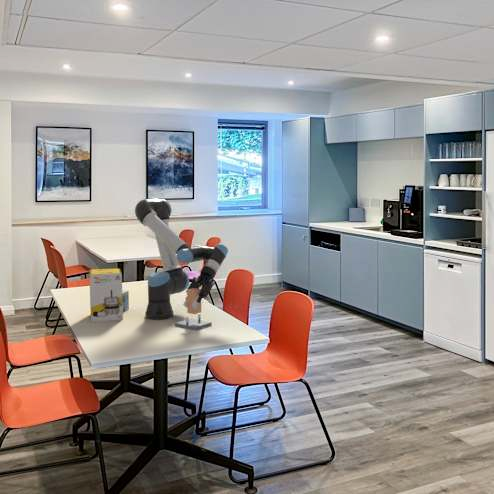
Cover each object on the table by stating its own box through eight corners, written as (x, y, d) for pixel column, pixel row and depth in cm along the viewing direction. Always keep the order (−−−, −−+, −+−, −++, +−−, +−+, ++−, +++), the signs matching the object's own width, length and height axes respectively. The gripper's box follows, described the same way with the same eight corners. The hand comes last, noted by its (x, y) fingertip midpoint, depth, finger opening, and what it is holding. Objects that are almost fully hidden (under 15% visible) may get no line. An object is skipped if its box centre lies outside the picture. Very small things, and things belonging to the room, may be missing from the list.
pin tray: (175, 325, 307) (175, 316, 306) (191, 321, 316) (190, 311, 316) (196, 330, 299) (196, 320, 298) (211, 325, 308) (211, 315, 308)
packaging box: (91, 321, 316) (89, 274, 313) (90, 314, 331) (89, 269, 328) (122, 319, 320) (121, 273, 317) (120, 312, 336) (119, 268, 333)
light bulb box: (121, 313, 335) (121, 293, 334) (110, 312, 337) (110, 293, 336) (129, 308, 346) (128, 290, 345) (118, 308, 347) (117, 289, 346)
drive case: (187, 312, 306) (187, 289, 304) (193, 311, 310) (193, 288, 308) (194, 314, 303) (194, 290, 302) (201, 312, 307) (201, 289, 306)
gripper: (226, 275, 311) (206, 313, 300) (200, 272, 322) (179, 308, 311) (220, 267, 306) (199, 304, 295) (193, 264, 317) (172, 300, 306)
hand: (189, 306), depth 303 cm, fingers closed on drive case, 5 cm apart
